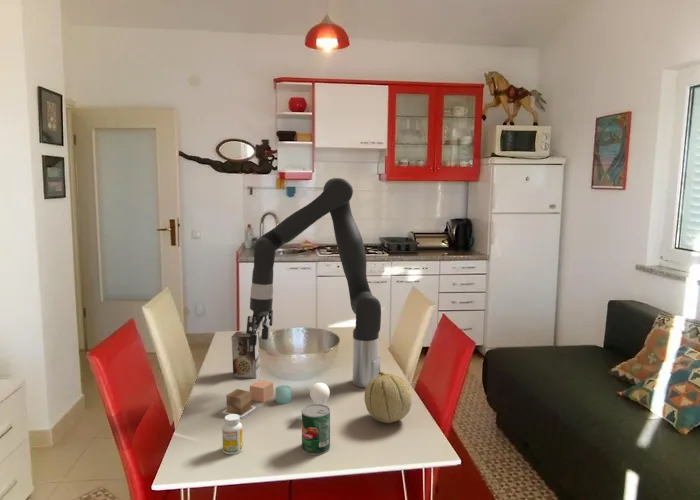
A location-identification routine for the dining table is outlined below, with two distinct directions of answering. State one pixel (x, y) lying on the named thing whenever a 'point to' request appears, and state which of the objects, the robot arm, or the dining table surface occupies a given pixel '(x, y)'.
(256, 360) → the coffee box
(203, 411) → the dining table surface
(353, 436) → the dining table surface
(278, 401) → the mint green capsule
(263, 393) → the terracotta block
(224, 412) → the mat
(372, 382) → the cantaloupe
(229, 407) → the walnut block
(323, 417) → the canned tomato
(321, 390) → the lightbulb
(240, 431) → the supplement bottle
